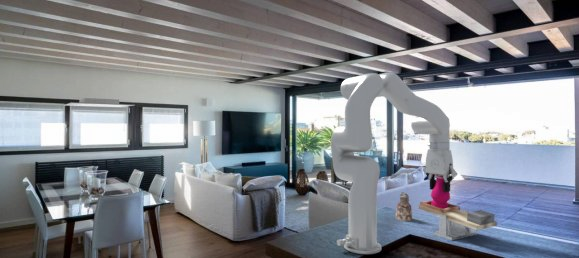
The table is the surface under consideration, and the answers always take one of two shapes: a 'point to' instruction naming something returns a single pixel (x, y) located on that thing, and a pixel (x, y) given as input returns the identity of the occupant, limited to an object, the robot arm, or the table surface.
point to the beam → (462, 215)
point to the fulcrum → (452, 229)
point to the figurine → (404, 208)
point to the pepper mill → (439, 193)
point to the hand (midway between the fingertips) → (439, 190)
